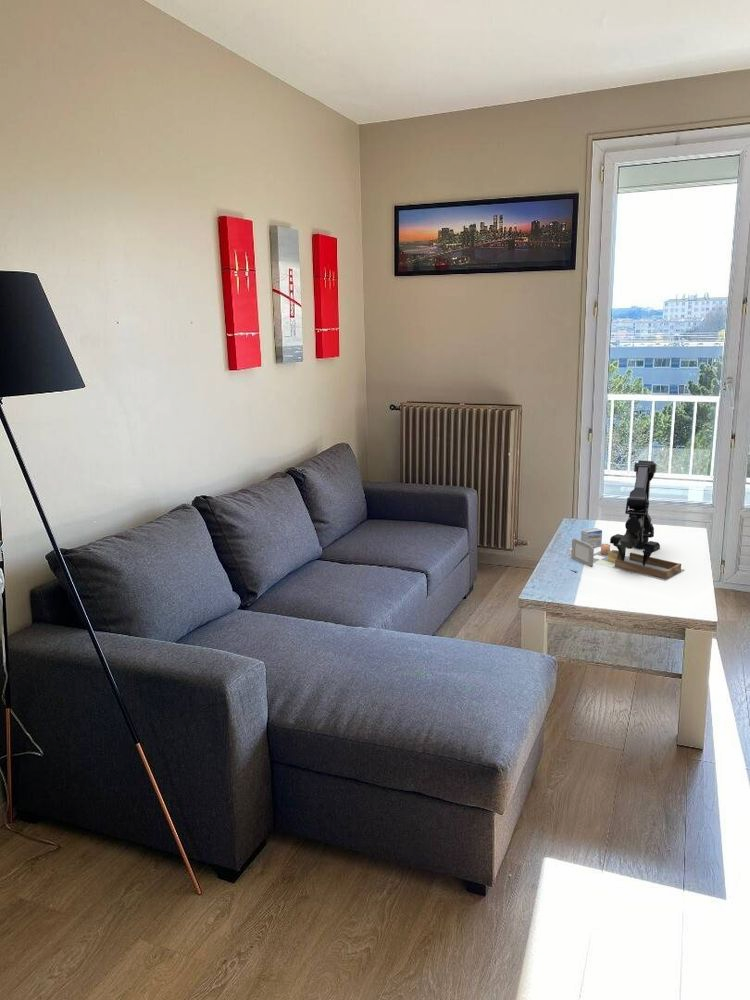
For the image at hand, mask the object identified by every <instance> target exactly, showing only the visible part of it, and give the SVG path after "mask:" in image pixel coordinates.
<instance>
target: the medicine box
mask: <svg viewBox="0 0 750 1000" xmlns="http://www.w3.org/2000/svg"><path fill="white" fill-rule="evenodd" d="M602 539H603V530H602V529H600V528H597V527H594V528H589V529H582V530H581V533H580V541H583V542H585V543H587V544H590V545H592V546H593V548H594V549H596V548H601V544H603V542H602Z"/></svg>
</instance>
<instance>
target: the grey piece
mask: <svg viewBox="0 0 750 1000" xmlns="http://www.w3.org/2000/svg"><path fill="white" fill-rule="evenodd" d="M571 547H572V550H571V551H572V553H571V556H570V557H571V558H573V560H575V561H578V562H579V563H582V564H584V565H586V566H589V567H593V566H594V563H593V558H594V556H593V555H594V554H595V553H594V552H595V548H593V546H592V545H590V544H587V543H585V542H583V541H581V539H578V538H573V539H572V540H571ZM570 571H571V572H573V573H578V571H577V570H572V569H570Z"/></svg>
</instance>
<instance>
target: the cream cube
mask: <svg viewBox="0 0 750 1000" xmlns="http://www.w3.org/2000/svg"><path fill="white" fill-rule="evenodd" d="M571 550H572V546H571V547H569V549H568V556H570V557H571V553H572V551H571Z"/></svg>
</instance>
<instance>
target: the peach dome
mask: <svg viewBox="0 0 750 1000" xmlns="http://www.w3.org/2000/svg"><path fill="white" fill-rule="evenodd" d="M600 551H601V555H608V552H609V551H611V544H609V543H602V544H601V547H600Z"/></svg>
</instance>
